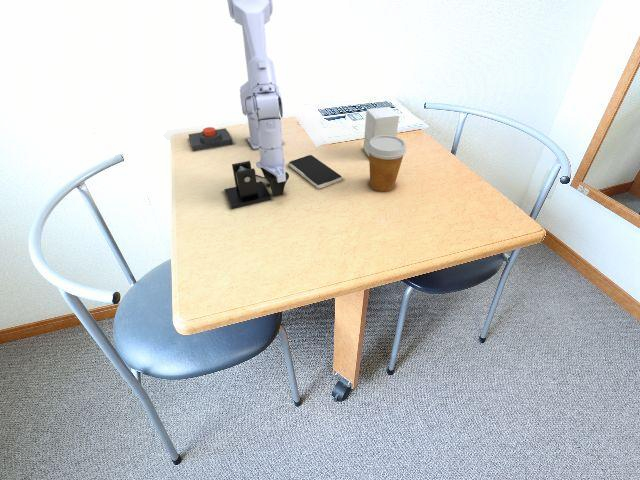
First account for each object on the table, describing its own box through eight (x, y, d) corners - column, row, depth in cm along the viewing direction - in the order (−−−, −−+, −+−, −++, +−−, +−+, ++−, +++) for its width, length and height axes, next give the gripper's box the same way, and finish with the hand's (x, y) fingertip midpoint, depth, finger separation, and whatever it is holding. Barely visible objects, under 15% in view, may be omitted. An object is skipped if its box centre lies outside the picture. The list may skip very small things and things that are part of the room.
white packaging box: (394, 157, 108) (400, 115, 100) (370, 160, 107) (374, 118, 99) (385, 146, 114) (390, 106, 106) (362, 149, 113) (365, 108, 104)
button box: (226, 132, 122) (224, 122, 119) (233, 145, 115) (231, 134, 113) (189, 139, 118) (186, 128, 116) (194, 152, 111) (191, 141, 109)
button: (214, 131, 115) (213, 126, 114) (216, 136, 113) (215, 130, 112) (203, 133, 114) (201, 128, 113) (205, 138, 112) (203, 132, 110)
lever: (269, 182, 96) (273, 174, 95) (274, 191, 93) (278, 183, 92) (234, 171, 90) (238, 163, 89) (239, 180, 87) (243, 172, 86)
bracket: (262, 184, 97) (258, 155, 92) (271, 199, 92) (268, 170, 86) (224, 192, 95) (218, 163, 89) (231, 209, 89) (225, 179, 84)
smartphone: (318, 185, 95) (287, 162, 104) (318, 189, 96) (287, 165, 105) (342, 176, 98) (311, 154, 107) (342, 180, 99) (311, 158, 108)
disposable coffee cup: (403, 179, 99) (410, 137, 91) (396, 198, 92) (403, 154, 85) (368, 173, 102) (372, 132, 94) (360, 191, 95) (363, 148, 87)
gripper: (246, 135, 91) (253, 182, 100) (262, 160, 81) (268, 211, 90) (273, 130, 93) (278, 177, 102) (293, 155, 83) (295, 204, 92)
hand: (275, 192), depth 96 cm, fingers closed on lever, 4 cm apart
